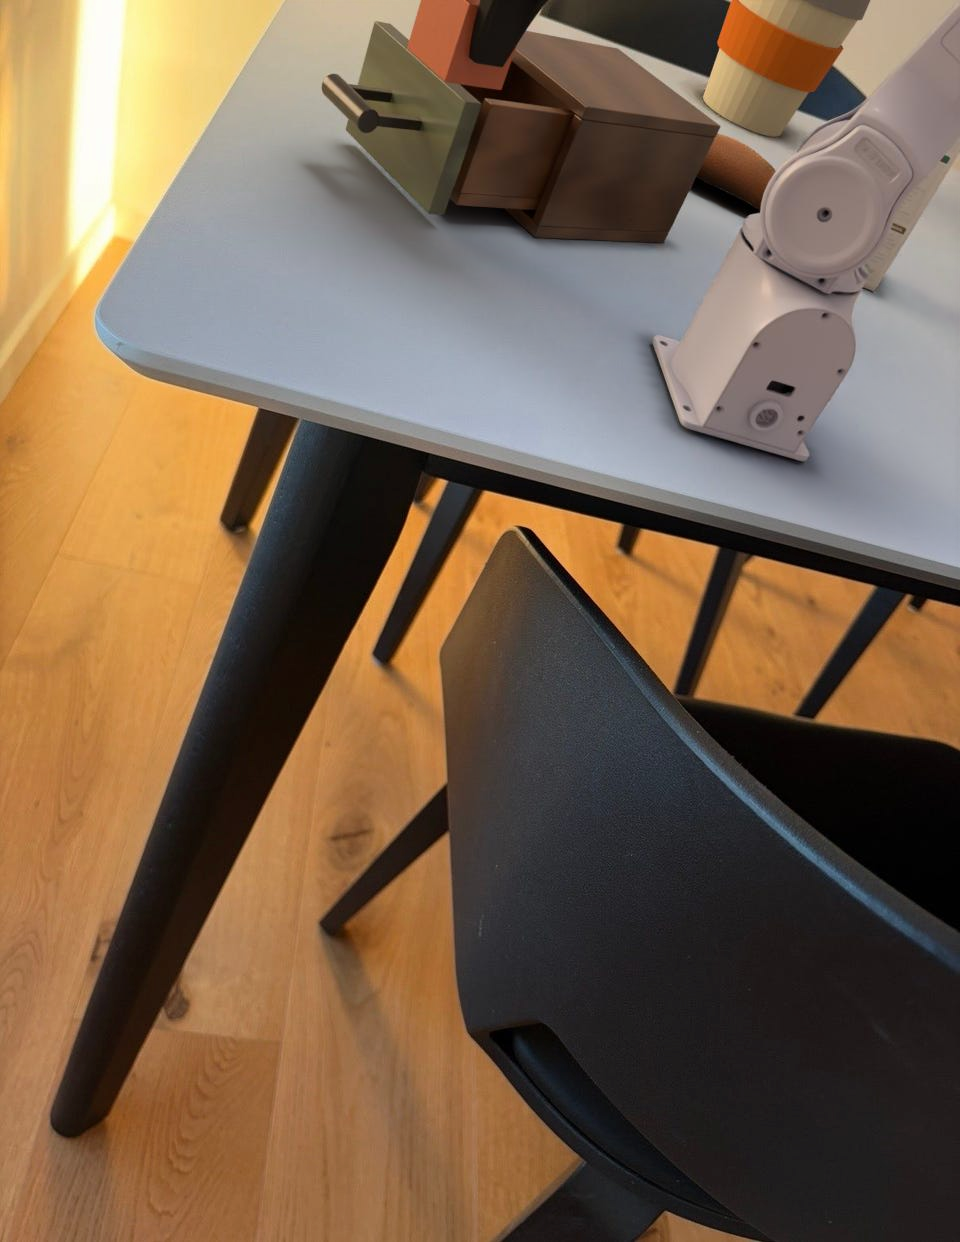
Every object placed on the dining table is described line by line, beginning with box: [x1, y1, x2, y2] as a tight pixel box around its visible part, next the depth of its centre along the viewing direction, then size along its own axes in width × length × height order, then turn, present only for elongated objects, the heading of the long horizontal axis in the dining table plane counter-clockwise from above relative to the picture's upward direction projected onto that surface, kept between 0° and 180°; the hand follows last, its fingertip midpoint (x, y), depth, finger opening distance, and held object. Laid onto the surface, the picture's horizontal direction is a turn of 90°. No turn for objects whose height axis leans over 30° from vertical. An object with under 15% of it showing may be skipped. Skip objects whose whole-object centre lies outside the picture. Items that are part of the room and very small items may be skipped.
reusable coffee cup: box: [702, 0, 871, 138], centre depth 110 cm, size 12×13×15 cm
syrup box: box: [863, 137, 960, 292], centre depth 86 cm, size 6×6×14 cm
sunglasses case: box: [696, 132, 777, 211], centre depth 92 cm, size 18×7×7 cm
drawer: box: [321, 20, 575, 216], centre depth 69 cm, size 16×10×7 cm, turn 125°
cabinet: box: [503, 30, 721, 244], centre depth 76 cm, size 13×12×9 cm
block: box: [407, 0, 517, 90], centre depth 60 cm, size 4×4×4 cm
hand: (462, 43), depth 60 cm, fingers closed on block, 4 cm apart
